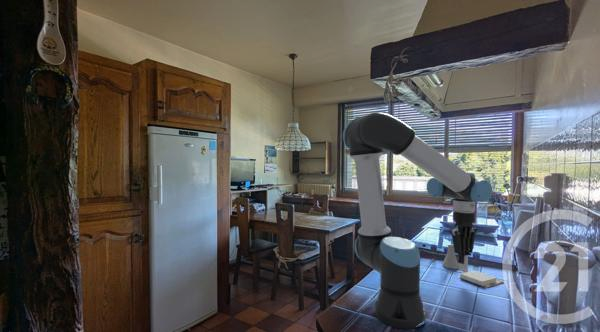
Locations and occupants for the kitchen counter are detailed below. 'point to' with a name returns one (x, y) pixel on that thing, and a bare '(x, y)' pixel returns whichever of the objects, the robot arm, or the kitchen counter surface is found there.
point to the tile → (478, 277)
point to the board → (489, 284)
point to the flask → (451, 259)
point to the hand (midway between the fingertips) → (463, 271)
